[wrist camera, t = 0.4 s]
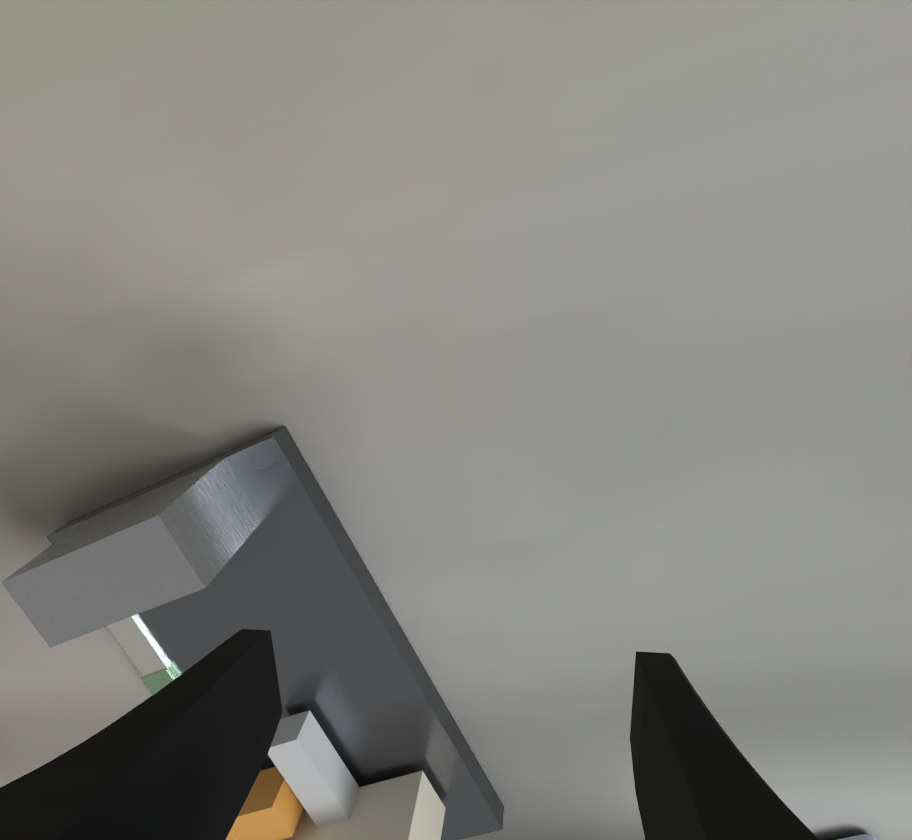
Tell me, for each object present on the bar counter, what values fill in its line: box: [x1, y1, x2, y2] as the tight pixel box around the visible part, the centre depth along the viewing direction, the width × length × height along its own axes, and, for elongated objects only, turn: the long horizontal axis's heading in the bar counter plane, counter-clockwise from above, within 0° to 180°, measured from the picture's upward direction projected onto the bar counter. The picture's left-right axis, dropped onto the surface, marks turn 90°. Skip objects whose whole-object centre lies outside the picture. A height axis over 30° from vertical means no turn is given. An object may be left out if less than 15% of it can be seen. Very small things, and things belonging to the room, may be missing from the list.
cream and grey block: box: [268, 710, 445, 840], centre depth 24 cm, size 6×7×3 cm
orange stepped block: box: [226, 767, 304, 840], centre depth 25 cm, size 2×4×2 cm, turn 116°
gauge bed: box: [2, 426, 504, 840], centre depth 23 cm, size 18×10×5 cm, turn 26°
